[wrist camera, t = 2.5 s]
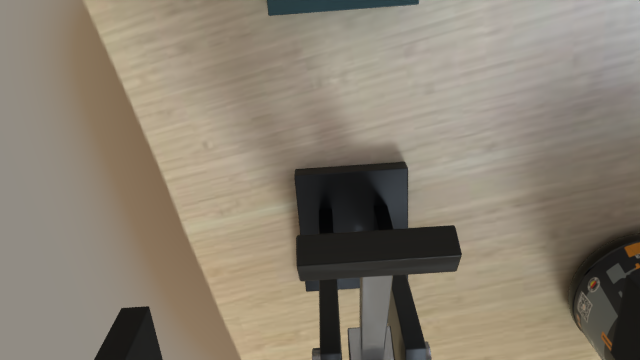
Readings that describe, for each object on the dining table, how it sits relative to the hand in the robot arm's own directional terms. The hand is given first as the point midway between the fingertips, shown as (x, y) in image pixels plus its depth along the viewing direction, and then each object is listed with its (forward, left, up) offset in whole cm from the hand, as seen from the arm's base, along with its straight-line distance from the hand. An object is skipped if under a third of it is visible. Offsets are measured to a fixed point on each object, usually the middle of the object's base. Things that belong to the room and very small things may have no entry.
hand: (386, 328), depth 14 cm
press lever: (+5, 0, -8) cm, 9 cm away
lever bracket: (+10, 0, -23) cm, 25 cm away
